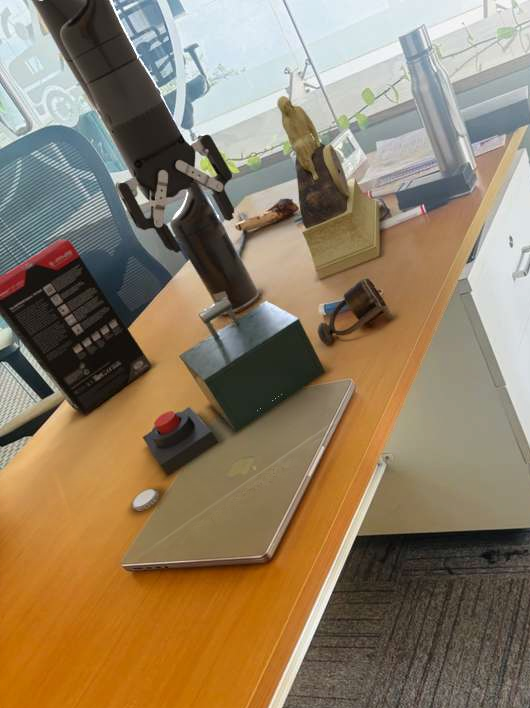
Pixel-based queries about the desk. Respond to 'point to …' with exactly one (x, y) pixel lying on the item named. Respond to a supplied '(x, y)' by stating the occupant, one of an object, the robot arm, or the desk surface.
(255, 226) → the bone fish hook
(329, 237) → the decorative clock
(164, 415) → the button
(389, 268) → the desk surface
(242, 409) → the dark green open box
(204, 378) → the lid
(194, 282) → the desk surface
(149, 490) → the bottle cap
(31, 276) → the graphics card box
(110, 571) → the desk surface
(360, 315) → the brown handled cylinder
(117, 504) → the desk surface
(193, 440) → the switch block
